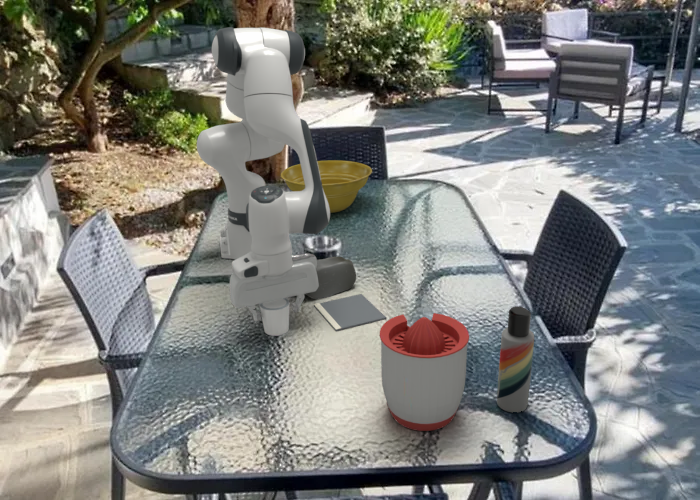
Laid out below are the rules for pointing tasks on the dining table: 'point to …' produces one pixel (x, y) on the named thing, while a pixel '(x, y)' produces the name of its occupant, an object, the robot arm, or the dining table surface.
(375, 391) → the dining table surface
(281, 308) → the shot glass
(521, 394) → the lotion bottle
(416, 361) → the citrus juicer
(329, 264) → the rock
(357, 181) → the planter bowl
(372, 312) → the mat
